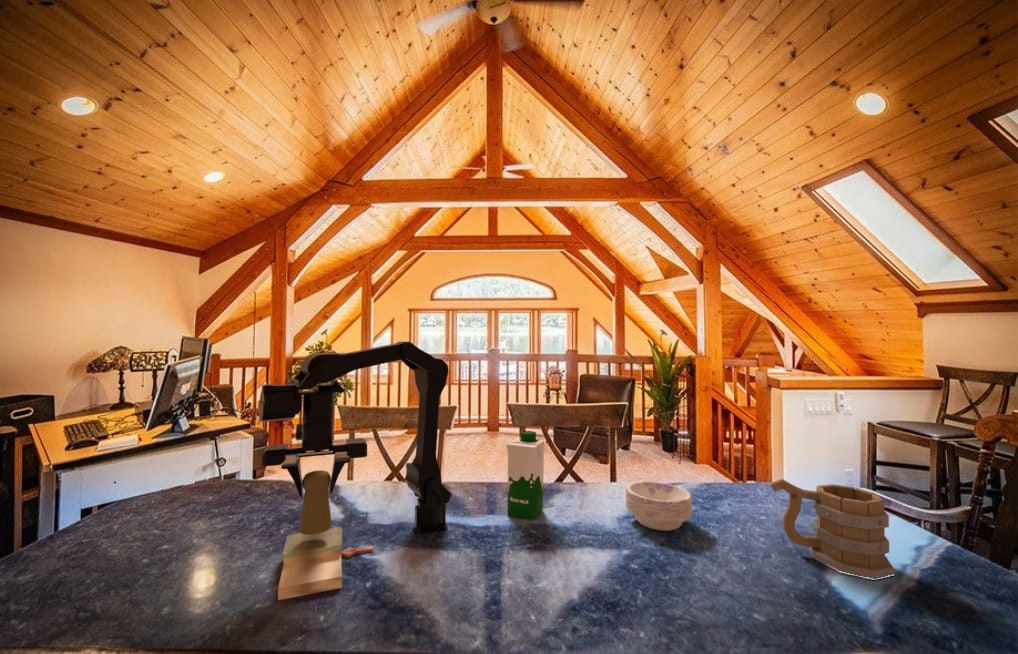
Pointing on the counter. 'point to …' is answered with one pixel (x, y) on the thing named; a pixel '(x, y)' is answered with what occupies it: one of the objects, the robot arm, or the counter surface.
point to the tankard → (842, 528)
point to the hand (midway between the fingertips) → (316, 494)
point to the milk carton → (525, 475)
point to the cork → (315, 503)
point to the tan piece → (313, 563)
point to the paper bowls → (659, 504)
